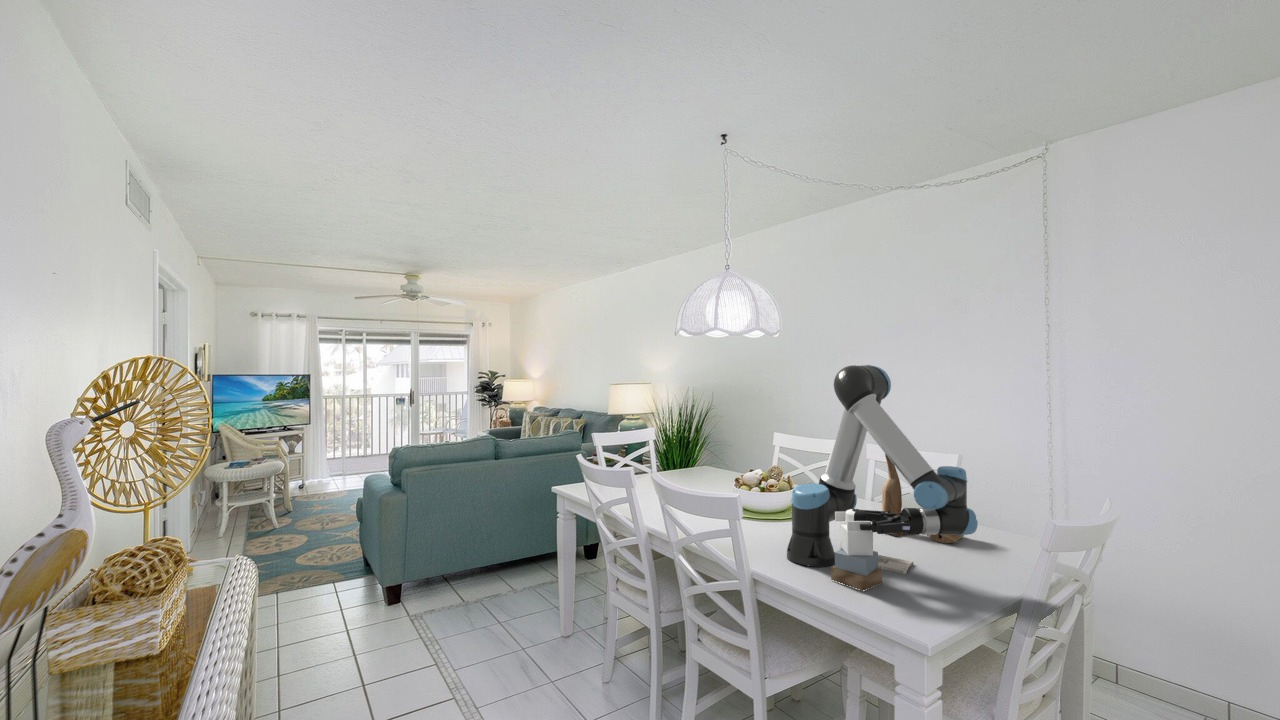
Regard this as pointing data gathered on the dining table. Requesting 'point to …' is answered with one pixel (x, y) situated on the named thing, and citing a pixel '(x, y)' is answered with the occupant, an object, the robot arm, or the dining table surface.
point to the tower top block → (856, 562)
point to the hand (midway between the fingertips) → (841, 521)
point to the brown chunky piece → (946, 538)
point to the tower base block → (857, 578)
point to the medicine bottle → (856, 536)
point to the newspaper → (893, 564)
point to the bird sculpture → (892, 492)
